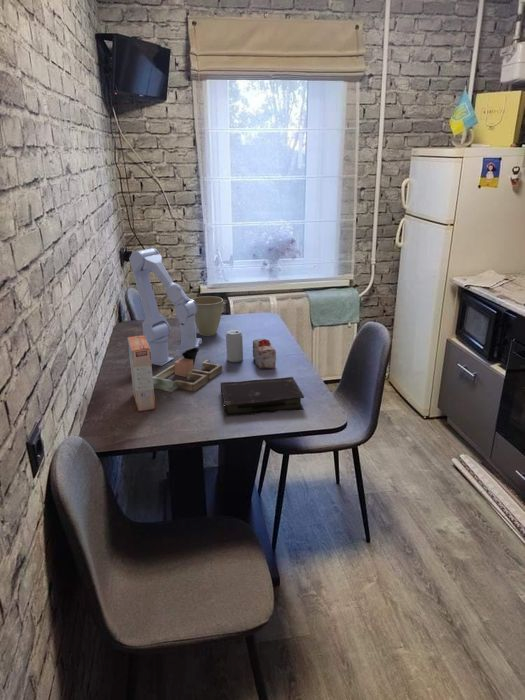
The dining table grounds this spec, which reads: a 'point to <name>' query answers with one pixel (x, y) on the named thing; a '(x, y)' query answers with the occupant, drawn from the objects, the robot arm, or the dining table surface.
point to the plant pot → (208, 314)
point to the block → (183, 366)
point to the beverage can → (234, 345)
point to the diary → (261, 396)
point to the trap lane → (193, 375)
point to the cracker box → (141, 372)
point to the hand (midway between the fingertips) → (190, 366)
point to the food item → (264, 354)
